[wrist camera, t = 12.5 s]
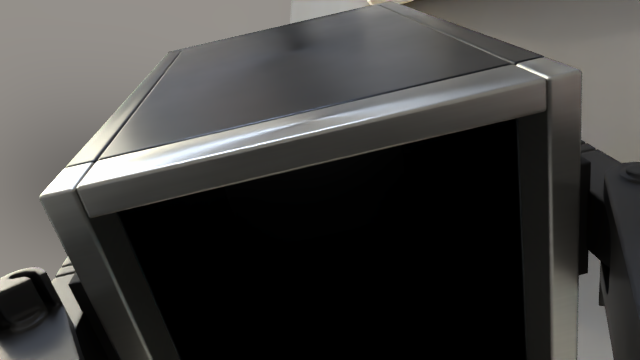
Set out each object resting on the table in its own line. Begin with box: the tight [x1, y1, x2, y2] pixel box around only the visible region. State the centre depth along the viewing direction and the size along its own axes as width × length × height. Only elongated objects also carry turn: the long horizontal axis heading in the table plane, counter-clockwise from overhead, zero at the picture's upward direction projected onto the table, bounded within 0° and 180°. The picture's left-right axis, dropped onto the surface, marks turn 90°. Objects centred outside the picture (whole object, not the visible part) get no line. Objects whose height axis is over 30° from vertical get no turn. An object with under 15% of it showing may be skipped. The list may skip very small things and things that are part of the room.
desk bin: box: [40, 1, 582, 360], centre depth 16 cm, size 13×9×10 cm
